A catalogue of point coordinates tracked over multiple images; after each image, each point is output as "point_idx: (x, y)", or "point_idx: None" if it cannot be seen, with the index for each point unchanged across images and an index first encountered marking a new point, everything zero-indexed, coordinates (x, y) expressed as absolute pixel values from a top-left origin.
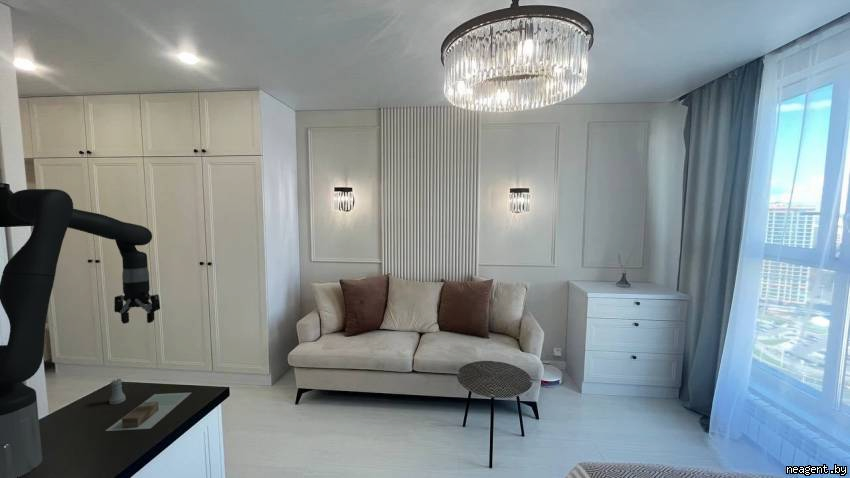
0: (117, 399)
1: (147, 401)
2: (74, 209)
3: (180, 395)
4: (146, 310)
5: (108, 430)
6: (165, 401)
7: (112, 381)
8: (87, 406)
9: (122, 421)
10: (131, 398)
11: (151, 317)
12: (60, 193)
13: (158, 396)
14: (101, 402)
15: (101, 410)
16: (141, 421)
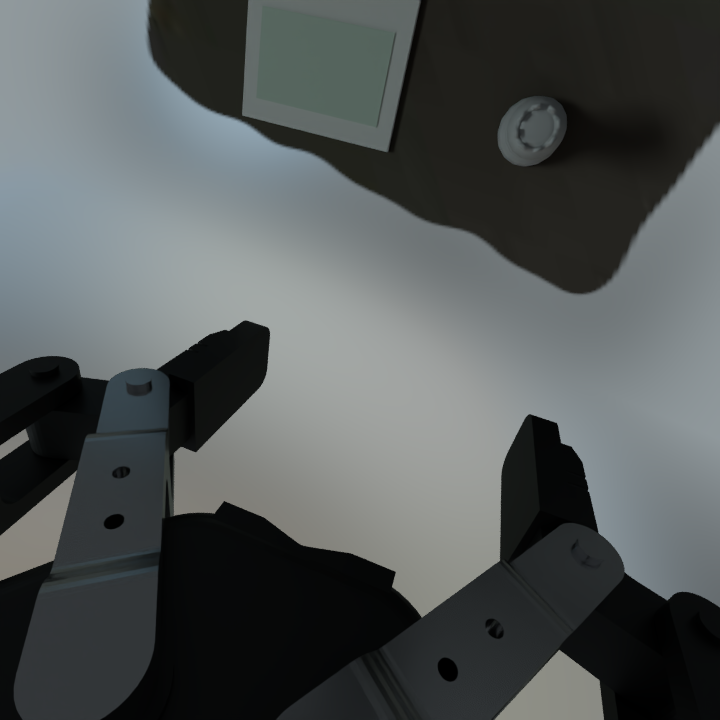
0: (522, 101)
1: (390, 76)
2: None
3: (273, 95)
4: (158, 408)
5: None
6: (311, 46)
7: (556, 119)
8: (665, 128)
9: None
10: (479, 153)
11: (190, 348)
12: None
13: (361, 117)
14: (607, 155)
15: (580, 53)
16: None
